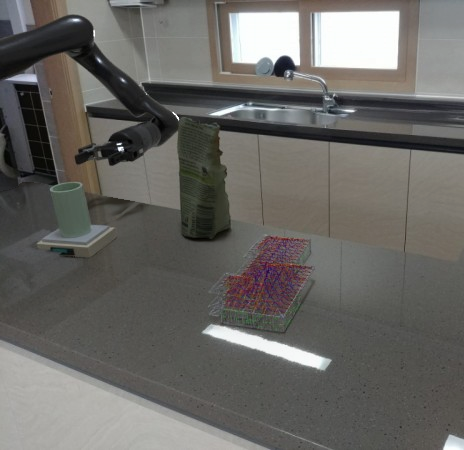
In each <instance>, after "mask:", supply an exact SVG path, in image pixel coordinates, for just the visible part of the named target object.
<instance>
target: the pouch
mask: <svg viewBox="0 0 464 450" xmlns="http://www.w3.org/2000/svg"><path fill="white" fill-rule="evenodd" d="M178 125H179V126H178V131H177V143H176V145H177V146H176V150H177V158H178V159H177V160H178V178H179V209H180V221H181V226H180V228H181V233H182V234H183V235H184V236H185V237H188V238H193V239H195V238H208V239H210V240H213V238H214V237H215V236H216V235H217V234H218V233H220V232H223V231H225V230H232V227H231V225H232V222H231V221H232V218H231V212H230V207H231V206H230V200H229V195H228V193H227V191H226V180H225V179H226V178H227V177H228V172H227V170H228V168H227V166H226V165H225V164H222V161H221V156H223V153H224V151H223V150H221V149H220V140H221V137H220V136H219V134H220V130H221V129H220V128H221V125H220V124H218V123H217V122H212V123H210V124H209V123H207V122H204V123H200V117H198V118H197V120H193V119H192V118H190V117H187V116H182V117H179V122H178Z"/></svg>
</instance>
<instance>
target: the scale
mask: <svg viewBox="0 0 464 450" xmlns="http://www.w3.org/2000/svg"><path fill="white" fill-rule="evenodd" d="M91 225H92V231H91V232H90V233H88V234H86V235H84V236H81V237H76V238H64V237H62V236H61V234H60V231H59V228H56V229H55V230H54V231H52V232H51V233H48V234H47V235H46V236H44V237H42V238H41V240H40V241H38V242H37V243H36V248H37V249H38V250H47V251H51V252H60V253H58V255H63V256H62V257H71V256H73V257H72V258H83V257H84V258H85V259H91V258H93V256H95V255H97V253H99V252H100V251H102V250H103V249H104V248H106V247H107V246H108V245H110V244H111V243H112V242H113V241H114V240H116V239H117V238H118V236H117V231H116V227H114V226H113V227H111V226H110V225H103V224H102V225H101V224H91ZM74 256H75V257H74Z"/></svg>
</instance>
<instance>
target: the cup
mask: <svg viewBox="0 0 464 450" xmlns="http://www.w3.org/2000/svg"><path fill="white" fill-rule="evenodd" d="M49 193H50V197H51V201H52V205H53V210H54V213H55V218H56V223H57V226H58V229H59V231H60V234H61V236H62V237H64V238H76V237H81V236H84V235H86V234H88V233H90V232H91V231H92V225H93V224H92V220H91V216H90V212H89V207H88V202H87V197H86V193H85V188H84V185H83V183H82V182H79V181H68V182H62V183H58V184H55V185H53V186H51V187H50V188H49Z"/></svg>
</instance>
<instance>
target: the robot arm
mask: <svg viewBox="0 0 464 450" xmlns="http://www.w3.org/2000/svg"><path fill="white" fill-rule="evenodd" d="M95 38H96V32H95V27H94V25H93V23H92V22H91V21H90V20H89V19H88V18H86V16H82V15H80V14H75V13H74V14H66V15H63V16H61V17H59V18H56V19H54V20H52V21H50V22H47V23H45V24H43V25H41V26H37V27H35V28H33V29H30V30H26V31H22V32H19V33H15V34H11V35H8V36H5V37H2V38H0V82H2V81H3V82H4V81H5V80H8V79H11V78H14V77H16V76H18V75H20V74H22V73H24V72H25V71H27V70H29V69H30V68H32V67H33V66H35V65H36V64H38V63H39V62H41V61H43V60H45V59H47V58H49V57H52V56H55V55H59V54H63V53H64V54H65V55H67V56H68V57H69V58H71V59H72V60H73V61H74V62H76V63H77V64H78V65H80V66H81V67H82V68H84V69H85V70H86V71H87V72H89V73H90V74H91V75H92V76H93V77H94V78H95V79H96V80H97V81H99V83H100V84H101V85H102V86H103V87H105V89H106V90H107V91H108V92H109V93H110V94H111V95H112V96H113V97H114V98H115V99H116V100H117V102H119V103H120V104H121V106H123V108H125V109H126V110H127V112H129V114H130V115H131V116H133V117H134V118H140V117H143V116H144V115H146V114H149V115H151V116H153V117H152V118H151V119H150V120H149V121H142V122H139V123H137V124H134V125H129V126H128V127H125V128H122V129H120V130H117V131H116V132H113V133H112V134H111V135H110V136H109V137H108V140H107V141H105V142H103V143H100V144H97V143H95V142H92V143H90V144H87V145H85V146H83V147H80V148H78V149H77V152H78V153H76V154H75V155H74V157H73V158H74V162H75V164H76V165H82V164H85V163H87V162H89V161H94V160H95V161H103V160H107V161H108V162H107V163H108V166H109V167H114V166H115V165H118V164H119V163H127V162H130V163H131V162H135V161H136V160H138V159H140V158H142V157H143V156H144V154H145V153H146V152H148V151H149V150H151V149H153V148H159V147H161V146H162V145H164V144H166V143H167V142H168V141H169V140H170V139H171V138H172V137H173V136H174V135H175V134H177V133H178V126H179V125H178V122H179V119H180V117H178V115H177V114H176V113H175V112H174V111H172V110H171V109H169V108H168V107H166V106H164V105H163V104H161V103H159V102H158V101H157V100H156V99H154V98H153V97H151V96H150V95H149V94H148V93H147V92H146V91H145V90H144V88H142V86H141V85H139V83H138V82H137V81H136V80H134V79H133V78H132V77H131V76H130V75H129V74H128V73H126V72H125V71H123V70H122V69H121V68H119V67H118V66H116V64H114V63H113V62H112V61H111V60H110V59H109V57H107V56H106V55H105V54H104V53H103V52H102V50H101V49H100V47H99V46H98V45H97V43H96V41H95ZM99 152H100V156H99Z"/></svg>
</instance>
